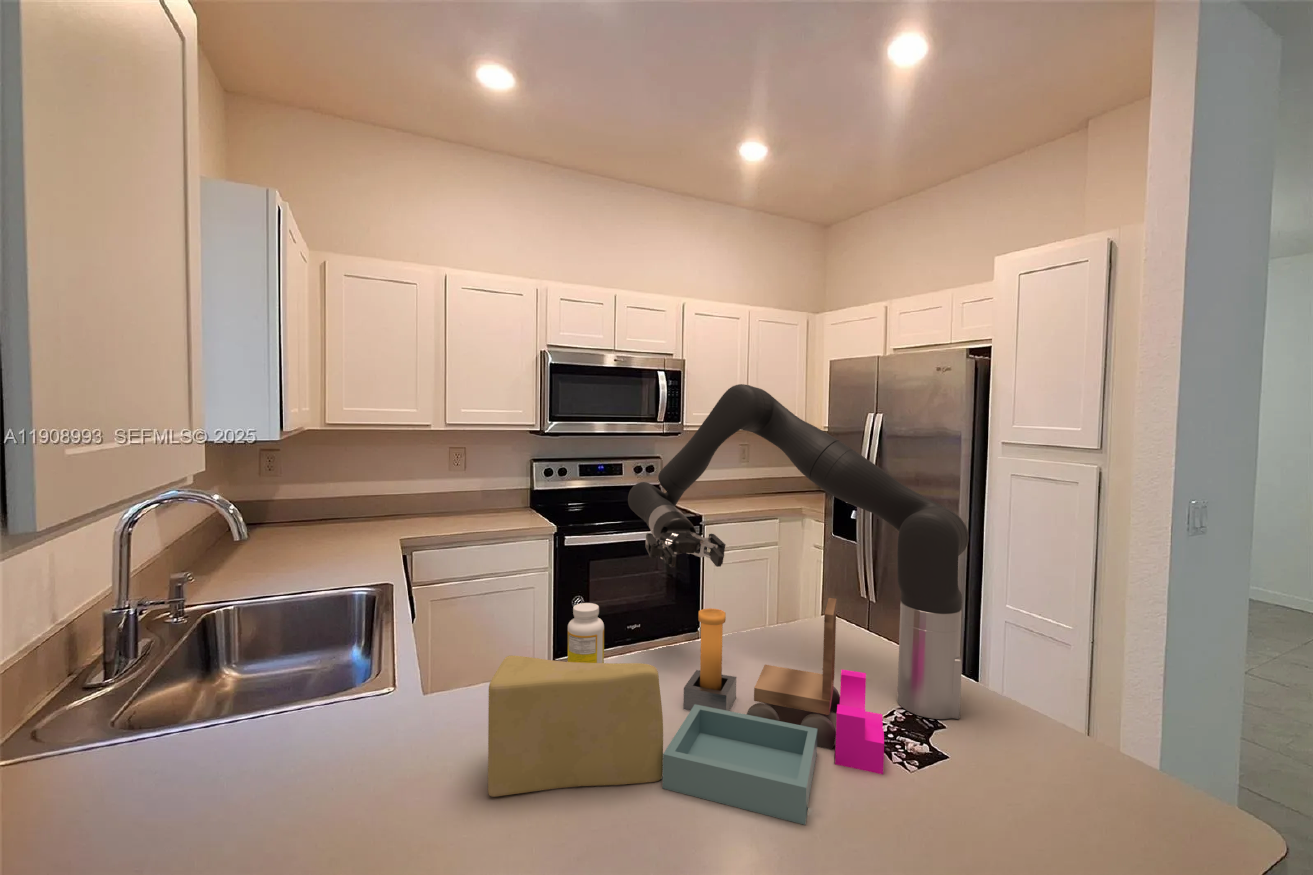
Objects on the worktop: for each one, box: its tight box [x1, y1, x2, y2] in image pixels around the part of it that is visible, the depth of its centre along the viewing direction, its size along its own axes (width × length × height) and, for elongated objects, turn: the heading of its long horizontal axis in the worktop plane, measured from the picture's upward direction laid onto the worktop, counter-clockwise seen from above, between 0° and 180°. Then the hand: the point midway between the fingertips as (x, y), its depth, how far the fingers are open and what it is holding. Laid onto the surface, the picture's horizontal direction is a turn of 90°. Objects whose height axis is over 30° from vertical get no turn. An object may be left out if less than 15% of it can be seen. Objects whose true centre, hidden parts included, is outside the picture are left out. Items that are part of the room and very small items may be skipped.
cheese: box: [487, 655, 664, 798], centre depth 77 cm, size 22×10×15 cm, turn 90°
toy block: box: [834, 668, 885, 775], centre depth 87 cm, size 15×6×8 cm, turn 160°
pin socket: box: [682, 669, 737, 712], centre depth 96 cm, size 7×7×4 cm
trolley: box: [746, 597, 840, 750], centre depth 91 cm, size 13×12×20 cm
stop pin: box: [698, 607, 727, 691], centre depth 95 cm, size 4×4×15 cm
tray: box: [662, 704, 818, 826], centre depth 79 cm, size 18×14×4 cm
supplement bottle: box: [567, 602, 605, 663], centre depth 107 cm, size 7×7×13 cm
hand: (697, 561), depth 102 cm, fingers open, 8 cm apart
